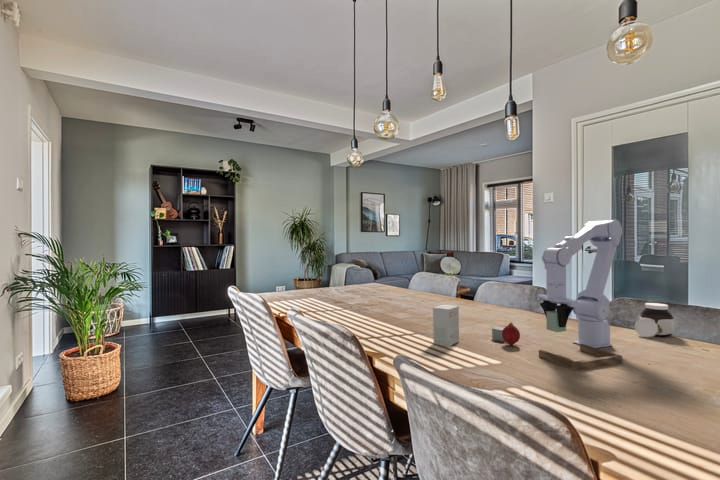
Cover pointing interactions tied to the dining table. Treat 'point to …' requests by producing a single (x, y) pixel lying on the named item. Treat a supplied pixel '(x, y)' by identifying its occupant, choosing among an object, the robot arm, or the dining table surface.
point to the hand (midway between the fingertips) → (556, 325)
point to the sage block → (553, 322)
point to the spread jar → (655, 321)
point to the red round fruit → (511, 334)
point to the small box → (446, 324)
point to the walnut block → (604, 359)
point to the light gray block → (497, 333)
